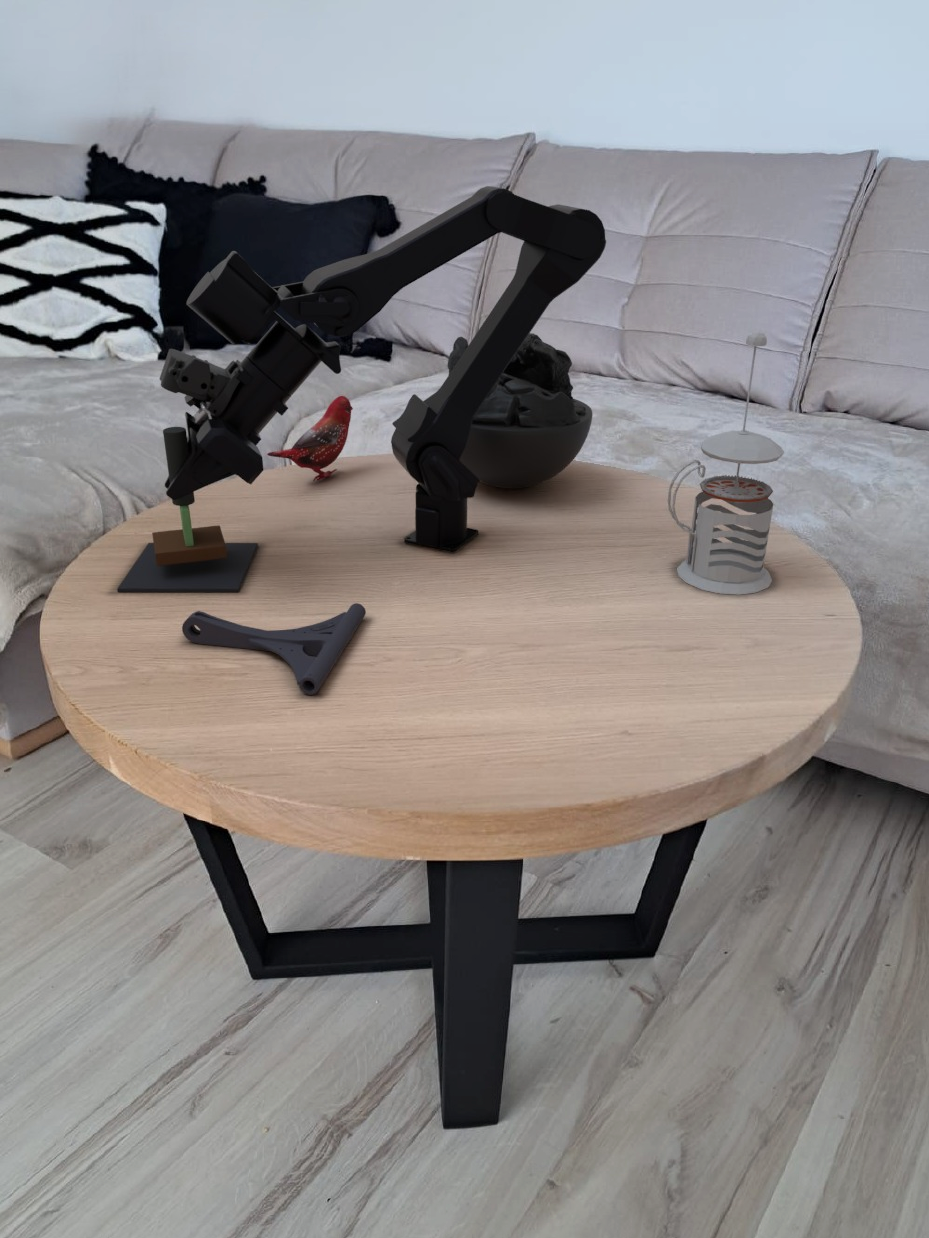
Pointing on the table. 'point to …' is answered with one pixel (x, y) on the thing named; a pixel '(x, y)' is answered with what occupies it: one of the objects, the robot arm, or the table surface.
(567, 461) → the bowl of black rocks
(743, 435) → the french press
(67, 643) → the table surface
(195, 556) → the rubber stamp
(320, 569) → the table surface
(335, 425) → the decorative bird figurine
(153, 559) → the mat
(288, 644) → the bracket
